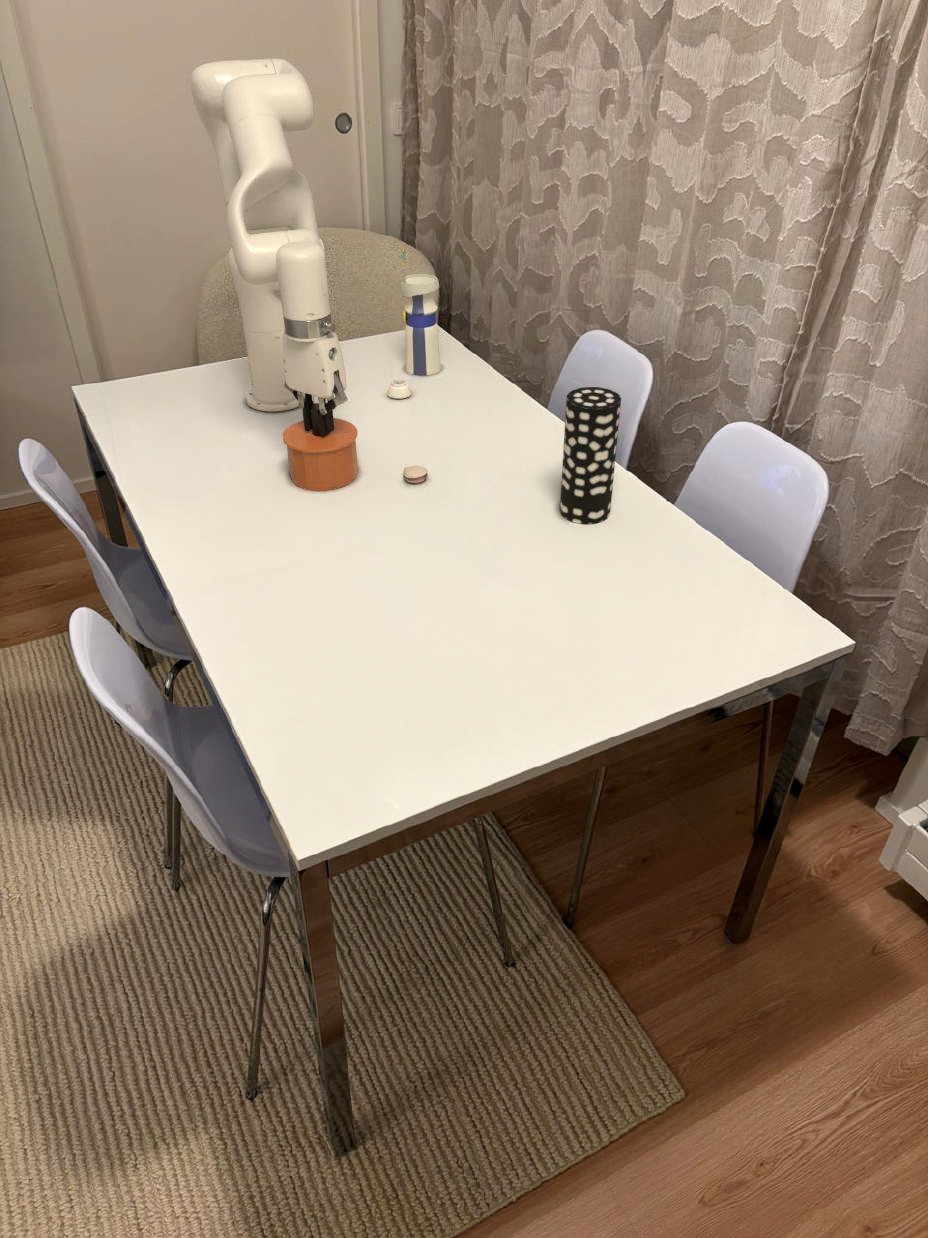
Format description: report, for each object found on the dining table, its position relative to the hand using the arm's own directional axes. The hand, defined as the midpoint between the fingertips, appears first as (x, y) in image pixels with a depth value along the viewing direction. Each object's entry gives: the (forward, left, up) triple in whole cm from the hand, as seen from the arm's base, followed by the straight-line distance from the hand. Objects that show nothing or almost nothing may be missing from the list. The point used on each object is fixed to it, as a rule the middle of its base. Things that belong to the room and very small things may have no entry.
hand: (319, 429), depth 161 cm
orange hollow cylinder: (0, 0, -9) cm, 9 cm away
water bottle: (-49, -13, -9) cm, 51 cm away
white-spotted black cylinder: (-13, +45, -9) cm, 48 cm away
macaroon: (-7, +15, -9) cm, 18 cm away
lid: (0, 0, -1) cm, 1 cm away
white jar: (-35, -9, -9) cm, 37 cm away
